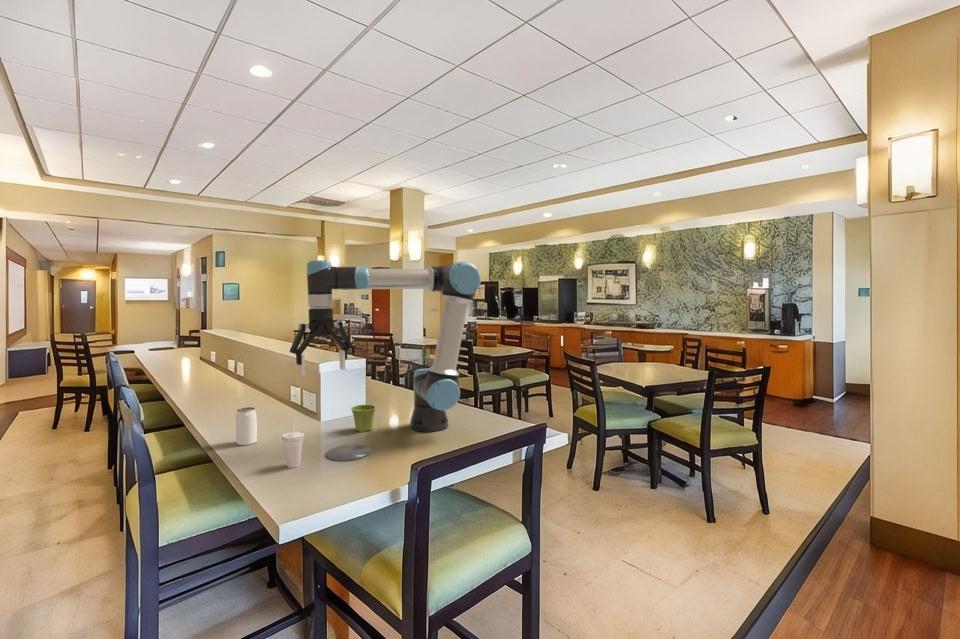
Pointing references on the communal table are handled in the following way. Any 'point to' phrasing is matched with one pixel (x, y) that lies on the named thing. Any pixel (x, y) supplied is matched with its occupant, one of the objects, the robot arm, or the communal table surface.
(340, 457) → the disc
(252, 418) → the can
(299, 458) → the smoothie
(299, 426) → the communal table surface
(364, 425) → the plant pot
